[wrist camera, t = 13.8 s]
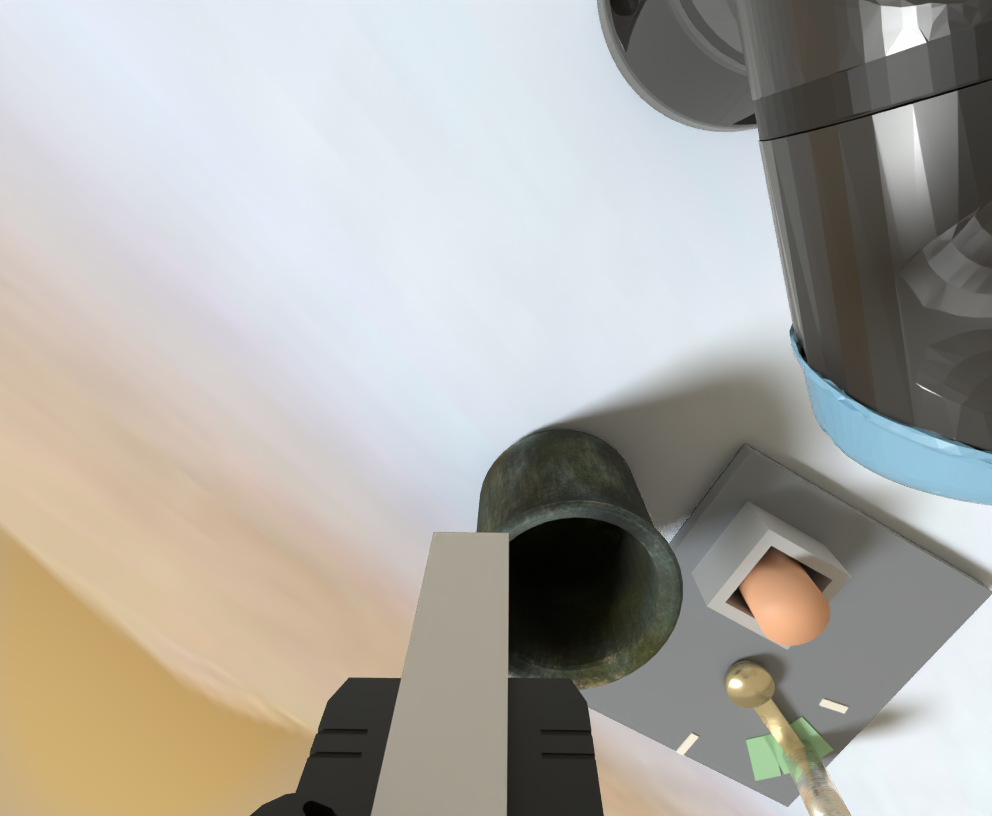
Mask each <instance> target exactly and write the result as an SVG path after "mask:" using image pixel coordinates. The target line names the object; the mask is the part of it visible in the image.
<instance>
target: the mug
mask: <svg viewBox="0 0 992 816" xmlns="http://www.w3.org/2000/svg"><path fill="white" fill-rule="evenodd" d="M477 533H509V611H508V676H509V677H511V678H571V680H572V681H573V683H574V684H575V685H576V687H577V688H578V690H584V689H589V688H594V687H599V686H603V685H606V684H609V683H612V682H615V681H617V680H619V679H621V678H623V677H625V676H627V675H629V674H631V673H633V672H634V671H636V670H637V669H639V668H640V667H642V666H643V665H645V664H646V663H647V662H648V661H649V660H650V659H651V658H653V657H654V656H655V655H656V654H657V653H658V652H659V650H660V649H661V648H662V647H663V646H664V644H665V643H666V642H667V640H668V639H669V637H670V635H671V634H672V632H673V630H674V628H675V626H676V623H677V621H678V618H679V615H680V611H681V606H682V601H683V580H682V574H681V569H680V566H679V563H678V561H677V558H676V555H675V553H674V552H673V550H672V548H671V547H670V545H669V544H668V542H667V541H666V539H665V538H664V537H663V536H662V535H661V534H660V533H659V532H658V531H657V530H656V529H655V528H654V526H653V524H652V521H651V519H650V517H649V514H648V512H647V509H646V507H645V505H644V502H643V500H642V497H641V495H640V493H639V490H638V488H637V485H636V483H635V481H634V478H633V476H632V473H631V471H630V469H629V467H628V465H627V464H626V462H625V460H624V459H623V458H622V457H621V455H620V454H619V453H618V452H617V451H616V450H615V449H614V448H612V447H611V446H610V445H609V444H607V443H606V442H604V441H602V440H600V439H599V438H597V437H594V436H592V435H589V434H586V433H582V432H577V431H572V430H553V431H546V432H541V433H537V434H534V435H531V436H529V437H526V438H524V439H522V440H520V441H519V442H517V443H515V444H513V445H512V446H511V447H509V448H508V449H507V450H506V451H504V452H503V453H502V454H501V455H500V456H499V457H498V458H497V460H496V461H495V462H494V463H493V465H492V466H491V468H490V469H489V471H488V472H487V475H486V477H485V479H484V481H483V485H482V489H481V493H480V502H479V512H478V523H477Z"/></svg>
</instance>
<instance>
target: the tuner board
mask: <svg viewBox="0 0 992 816" xmlns="http://www.w3.org/2000/svg"><path fill="white" fill-rule="evenodd" d="M669 545H670V547H671V548H672V550H673V552H674V553H675V555H676V558H677V561H678V563H679V566H680V569H681V574H682V580H683V601H682V606H681V611H680V615H679V618H678V621H677V623H676V626H675V628H674V630H673V632H672V634H671V635H670V637H669V639H668V640H667V642H666V643H665V644H664V646H663V647H662V648H661V649H660V650H659V652H658V653H657V654H656V655H655V656H654V657H653V658H651V659H650V660H649V661H648V662H647V663H646V664H645V665H643V666H642V667H640V668H639V669H637V670H636V671H634V672H633V673H631V674H629V675H627V676H625V677H623V678H621V679H619V680H617V681H615V682H612V683H609V684H606V685H603V686H599V687H594V688H589V689H584V690H579V691H580V693H581V694H582V696H583V697H584V698H585V700H586V701H587V704H588V707H589V708H591V709H593V710H595V711H597V712H599V713H601V714H603V715H605V716H607V717H609V718H611V719H613V720H615V721H617V722H619V723H621V724H623V725H625V726H627V727H629V728H631V729H633V730H635V731H637V732H639V733H641V734H643V735H645V736H647V737H649V738H651V739H653V740H655V741H657V742H659V743H661V744H663V745H665V746H667V747H669V748H671V749H673V750H675V751H676V752H677V753H679V754H681V755H685V756H687V757H689V758H691V759H693V760H695V761H697V762H699V763H701V764H703V765H705V766H707V767H709V768H711V769H713V770H715V771H717V772H719V773H721V774H723V775H725V776H727V777H729V778H731V779H733V780H735V781H737V782H739V783H741V784H743V785H745V786H747V787H749V788H751V789H753V790H755V791H757V792H759V793H761V794H763V795H765V796H767V797H769V798H771V799H773V800H775V801H777V802H779V803H781V804H783V805H785V806H787V807H788V806H789V805H790V804H791V803H792V802H793V801H794V800H795V799H796V798H797V797H798V796H799V795H800V794H799V791H798V789H797V787H796V785H795V783H794V781H793V779H792V777H791V774H790V772H789V770H788V768H787V766H786V764H785V762H784V760H783V751H784V750H783V749H782V748H781V746H780V745H779V743H778V742H777V741H776V739H775V738H774V736H773V735H772V734H771V732H770V731H769V729H768V728H767V727H766V725H765V724H764V722H763V721H762V720H761V718H760V717H759V715H758V714H757V713H756V711H755V710H754V708H743V707H740V706H737V705H736V704H734V703H733V702H732V701H731V700H730V698H729V696H728V694H727V691H726V689H725V686H724V683H723V679H724V675H725V673H726V671H727V670H728V669H729V668H730V667H731V666H732V665H734V664H735V663H738V662H740V661H745V660H752V661H757V662H759V663H761V664H763V665H764V666H765V667H766V668H767V670H768V672H769V673H770V675H771V677H772V679H773V681H774V684H775V690H774V693H773V696H772V697H771V698H772V699H773V701H774V702H775V703H776V705H777V706H778V708H779V709H780V711H781V712H782V713H783V715H784V716H785V718H786V719H787V721H788V722H789V723H790V725H791V726H792V728H793V729H794V731H795V732H796V733H797V735H798V736H799V738H800V739H801V741H806V742H809V743H811V744H812V745H813V746H814V747H815V749H816V751H817V753H818V755H819V757H820V758H821V760H822V762H823V764H824V766H825V768H826V767H827V766H828V765H829V763H830V762H831V761H832V760H833V759H834V758H835V757H836V756H837V755H838V754H839V753H840V752H841V751H842V750H843V749H844V748H845V747H846V746H847V745H848V744H849V743H850V742H851V740H852V739H853V738H854V737H855V736H856V735H857V734H858V733H859V732H860V731H861V730H862V729H863V728H864V727H865V726H866V725H867V724H868V723H869V722H870V721H871V720H872V719H873V718H874V716H875V715H876V714H877V713H878V712H879V711H880V710H881V709H882V708H883V707H884V706H885V705H886V704H887V703H888V702H889V701H890V700H891V699H892V698H893V697H894V696H895V695H896V694H897V692H898V691H899V690H900V689H901V688H902V687H903V686H904V685H905V684H906V683H907V682H908V681H909V680H910V679H911V678H912V677H913V676H914V675H915V674H916V673H917V672H918V671H919V670H920V668H921V667H922V666H923V665H924V664H925V663H926V662H927V661H928V660H929V659H930V658H931V657H932V656H933V655H934V654H935V653H936V652H937V651H938V650H939V649H940V648H941V647H942V646H943V644H944V643H945V642H946V641H947V640H948V639H949V638H950V637H951V636H952V635H953V634H954V633H955V632H956V631H957V630H958V629H959V628H960V627H961V626H962V625H963V624H964V623H965V622H966V620H967V619H968V618H969V617H970V616H971V615H972V614H973V613H974V612H975V611H976V610H977V609H978V608H979V607H980V606H981V605H982V604H983V603H984V602H985V601H986V600H987V599H988V598H989V596H990V595H991V594H992V591H991V590H990V589H988V588H987V587H986V586H985V585H984V584H982V583H981V582H980V581H978V580H976V579H974V578H973V577H971V576H969V575H968V574H966V573H964V572H963V571H961V570H959V569H957V568H956V567H954V566H952V565H951V564H949V563H947V562H946V561H944V560H942V559H940V558H939V557H937V556H935V555H934V554H932V553H930V552H928V551H927V550H925V549H923V548H922V547H920V546H918V545H917V544H915V543H913V542H911V541H910V540H908V539H906V538H905V537H903V536H901V535H900V534H898V533H896V532H894V531H893V530H891V529H889V528H888V527H886V526H884V525H883V524H881V523H879V522H877V521H876V520H874V519H872V518H871V517H869V516H867V515H866V514H864V513H862V512H860V511H859V510H857V509H855V508H854V507H852V506H850V505H848V504H847V503H845V502H843V501H842V500H840V499H838V498H837V497H835V496H833V495H831V494H830V493H828V492H826V491H825V490H823V489H821V488H820V487H818V486H816V485H814V484H813V483H811V482H809V481H808V480H806V479H804V478H803V477H801V476H799V475H797V474H796V473H794V472H792V471H791V470H789V469H787V468H786V467H784V466H782V465H780V464H779V463H777V462H775V461H774V460H772V459H770V458H769V457H767V456H765V455H763V454H762V453H760V452H758V451H757V450H755V449H753V448H751V447H750V446H748V445H746V444H744V446H743V447H742V448H741V449H740V451H739V452H738V453H737V455H736V456H735V457H734V459H733V460H732V461H731V463H730V464H729V465H728V467H727V468H726V469H725V471H724V472H723V473H722V475H721V476H720V477H719V479H718V480H717V481H716V483H715V484H714V485H713V486H712V488H711V489H710V490H709V492H708V493H707V494H706V496H705V497H704V498H703V500H702V501H701V502H700V504H699V505H698V506H697V508H696V509H695V510H694V512H693V513H692V514H691V516H690V517H689V518H688V520H687V521H686V522H685V523H684V525H683V526H682V527H681V529H680V530H679V531H678V533H677V534H676V535H675V537H674V538H673V539H672V541H671V542H670V543H669ZM771 546H773V547H775V548H776V549H778V550H780V551H782V552H784V553H785V554H787V555H789V556H791V557H792V558H794V559H796V560H797V561H798V562H799V564H800V565H801V566H802V568H803V569H804V570H805V572H806V573H807V574H808V576H809V577H810V578H811V580H812V581H813V582H814V583H815V585H816V586H817V587H818V589H819V590H820V591H821V593H822V594H823V595H824V597H825V598H826V599H827V601H828V603H829V606H830V619H829V622H828V624H827V626H826V628H825V629H824V631H823V632H822V633H821V634H820V635H819V636H817V637H816V638H815V639H813V640H811V641H809V642H807V643H804V644H801V645H795V646H786V645H781V644H778V643H775V642H773V641H772V640H770V639H769V638H768V637H767V636H766V635H765V634H764V633H763V631H762V629H761V627H760V626H759V624H758V622H757V620H756V619H755V617H754V615H753V613H752V611H751V610H750V608H749V606H748V604H747V603H746V601H745V599H744V597H743V595H742V594H741V592H740V590H739V588H738V586H739V585H740V584H741V582H742V581H743V580H744V579H745V577H746V576H747V575H748V574H749V573H750V571H751V570H752V569H753V568H754V566H755V565H756V564H757V563H758V561H759V560H760V559H761V558H762V557H763V555H764V554H765V553H766V552H767V550H768V549H769V548H770V547H771Z"/></svg>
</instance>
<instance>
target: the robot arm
mask: <svg viewBox="0 0 992 816" xmlns="http://www.w3.org/2000/svg"><path fill="white" fill-rule="evenodd" d="M597 4H598V12H599V17H600V23H601V27H602V31H603V34H604V37H605V40H606V43H607V46H608V49H609V51H610V53H611V56H612V58H613V60H614V62H615V63H616V65H617V67H618V69H619V70H620V72H621V74H622V75H623V77H624V78H625V79H626V81H627V82H628V84H629V85H630V86H631V87H632V88H633V90H634V91H635V92H636V93H637V94H638V95H639V96H640V97H641V98H642V99H643V100H644V101H646V102H647V103H648V104H649V105H650V106H652V107H653V108H654V109H656V110H657V111H658V112H660V113H662V114H663V115H665V116H667V117H669V118H671V119H673V120H675V121H677V122H679V123H682V124H684V125H687V126H690V127H694V128H698V129H703V130H709V131H718V132H735V131H744V130H750V129H755V128H758V132H759V139H760V140H759V145H760V151H761V156H762V161H763V167H764V172H765V178H766V183H767V188H768V194H769V199H770V205H771V210H772V215H773V221H774V226H775V231H776V237H777V242H778V248H779V253H780V258H781V264H782V269H783V275H784V280H785V285H786V291H787V296H788V301H789V307H790V312H791V318H792V323H793V324H792V326H791V329H790V337H791V345H792V348H793V351H794V354H795V356H796V358H797V360H798V361H799V363H800V365H801V366H802V368H803V371H804V375H805V379H806V383H807V387H808V391H809V396H810V400H811V404H812V408H813V411H814V414H815V416H816V419H817V421H818V423H819V424H820V426H821V428H822V429H823V430H824V431H825V432H826V433H827V434H828V435H829V436H830V437H831V439H832V440H833V442H834V443H835V445H836V446H838V447H839V448H840V449H841V450H842V452H844V453H845V454H846V455H847V456H848V457H850V458H851V459H853V460H854V461H856V462H857V463H859V464H860V465H862V466H863V467H865V468H867V469H869V470H870V471H872V472H874V473H876V474H878V475H880V476H882V477H884V478H887V479H889V480H892V481H894V482H896V483H899V484H902V485H904V486H907V487H910V488H913V489H917V490H920V491H923V492H927V493H930V494H934V495H938V496H942V497H946V498H951V499H955V500H960V501H965V502H971V503H977V504H985V505H992V0H597ZM508 611H509V533H468V532H434V533H433V538H432V542H431V547H430V551H429V556H428V560H427V565H426V569H425V574H424V578H423V583H422V587H421V592H420V596H419V601H418V605H417V610H416V614H415V619H414V623H413V628H412V632H411V637H410V641H409V646H408V650H407V655H406V659H405V664H404V668H403V673H402V677H401V678H348V679H347V681H346V682H345V683H344V684H343V685H342V686H341V687H340V688H339V689H338V690H337V692H336V693H335V694H334V695H333V696H332V697H331V698H330V699H329V700H328V702H327V705H326V708H325V711H324V713H323V716H322V719H321V722H320V725H319V728H318V734H316V736H315V739H314V742H313V745H312V747H311V751H310V757H309V758H308V759H307V762H306V764H305V767H304V770H303V773H302V776H301V779H300V782H299V785H298V788H297V790H296V793H292V794H286V795H283V796H281V797H279V798H277V799H275V800H272V801H270V802H268V803H266V804H264V805H262V806H261V807H260V808H258V809H257V810H256V811H255V812H254V813H253V814H251V815H250V816H604V815H603V808H602V801H601V794H600V787H599V780H598V773H597V766H596V760H595V753H594V746H593V739H592V736H591V725H590V718H589V711H588V704H587V701H586V700H585V698H584V697H583V696H582V694H581V693H580V691H579V690H578V688H577V687H576V685H575V684H574V683H573V681H572V680H571V678H508Z"/></svg>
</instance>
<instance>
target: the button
mask: <svg viewBox="0 0 992 816" xmlns="http://www.w3.org/2000/svg"><path fill="white" fill-rule="evenodd" d="M738 588H739V590H740V592H741V594H742V595H743V597H744V599H745V601H746V603H747V604H748V606H749V608H750V610H751V611H752V613H753V615H754V617H755V619H756V620H757V622H758V624H759V626H760V627H761V629H762V631H763V633H764V634H765V635H766V636H767V637H768V638H769V639H770V640H772V641H773V642H775V643H778V644H781V645H786V646H795V645H801V644H804V643H807V642H809V641H811V640H813V639H815V638H816V637H817V636H819V635H820V634H821V633H822V632H823V631H824V629H825V628H826V626H827V624H828V622H829V619H830V606H829V603H828V601H827V599H826V598H825V597H824V595H823V594H822V593H821V591H820V590H819V589H818V587H817V586H816V585H815V583H814V582H813V581H812V580H811V578H810V577H809V576H808V574H807V573H806V572H805V570H804V569H803V568H802V566H801V565H800V564H799V562H798V561H797V560H796V559H794V558H792V557H791V556H789V555H787V554H785V553H784V552H782V551H780V550H778V549H776V548H775V547H773V546H771V547H770V548H769V549H768V550H767V552H766V553H765V554H764V555H763V557H762V558H761V559H760V560H759V561H758V563H757V564H756V565H755V566H754V568H753V569H752V570H751V571H750V573H749V574H748V575H747V576H746V577H745V579H744V580H743V581H742V582H741V584H740V585H739V586H738Z"/></svg>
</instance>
